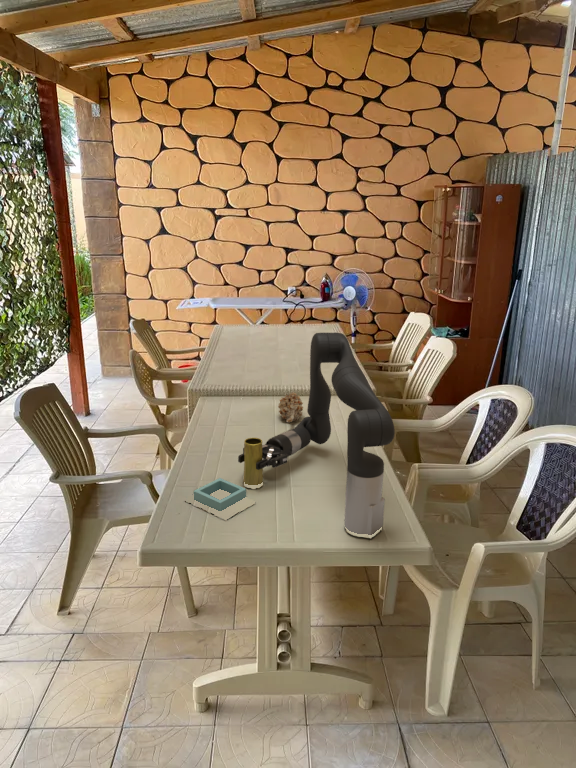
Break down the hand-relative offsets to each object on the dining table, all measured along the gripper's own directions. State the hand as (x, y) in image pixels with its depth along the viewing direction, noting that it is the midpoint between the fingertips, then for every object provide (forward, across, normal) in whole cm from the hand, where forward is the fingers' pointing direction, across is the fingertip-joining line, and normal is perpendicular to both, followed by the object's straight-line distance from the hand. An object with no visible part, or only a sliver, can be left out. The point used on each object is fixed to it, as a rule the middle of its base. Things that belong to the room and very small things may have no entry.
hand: (248, 463), depth 179 cm
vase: (-2, 0, +8) cm, 9 cm away
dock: (+12, 0, +8) cm, 14 cm away
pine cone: (-48, -22, +8) cm, 54 cm away
